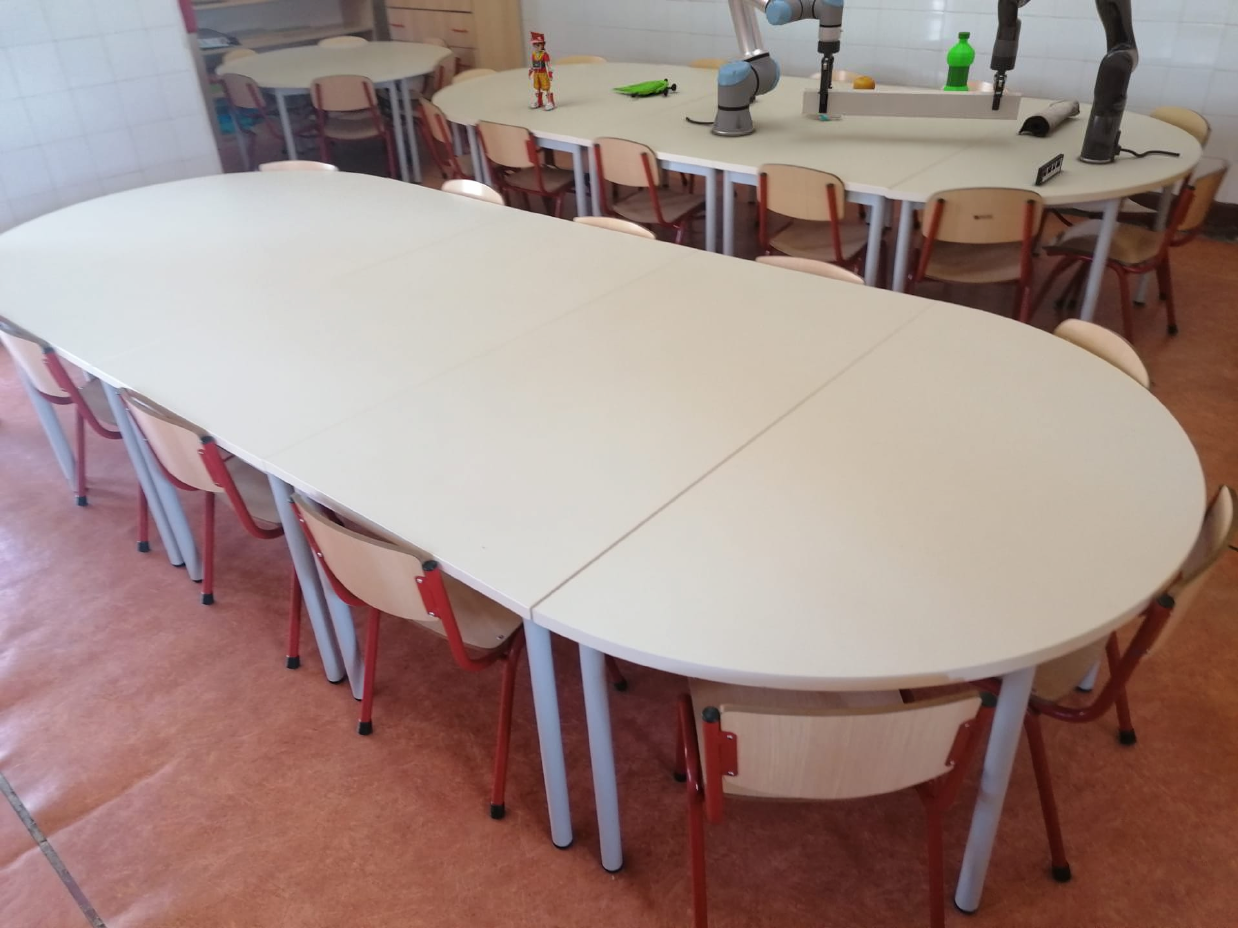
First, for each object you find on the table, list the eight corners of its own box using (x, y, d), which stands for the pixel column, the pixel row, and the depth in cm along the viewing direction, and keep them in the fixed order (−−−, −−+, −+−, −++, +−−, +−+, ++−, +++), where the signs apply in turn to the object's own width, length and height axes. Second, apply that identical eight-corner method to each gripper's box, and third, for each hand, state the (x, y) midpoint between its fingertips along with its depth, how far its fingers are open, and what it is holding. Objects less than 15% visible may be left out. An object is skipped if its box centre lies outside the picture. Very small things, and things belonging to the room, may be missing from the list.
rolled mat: (1047, 105, 331) (1071, 88, 323) (1061, 126, 332) (1085, 109, 324) (1014, 127, 314) (1039, 109, 306) (1028, 149, 314) (1054, 132, 306)
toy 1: (525, 109, 381) (517, 32, 364) (534, 104, 388) (527, 28, 371) (550, 110, 377) (543, 32, 360) (559, 105, 384) (553, 28, 367)
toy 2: (686, 85, 398) (631, 84, 414) (685, 72, 395) (629, 72, 411) (651, 104, 381) (596, 103, 397) (650, 92, 378) (594, 91, 394)
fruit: (848, 88, 368) (860, 70, 365) (850, 91, 375) (862, 74, 372) (865, 99, 366) (877, 81, 363) (867, 102, 374) (879, 85, 371)
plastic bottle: (973, 101, 354) (984, 32, 339) (955, 106, 349) (966, 36, 335) (952, 97, 361) (962, 29, 346) (934, 102, 356) (944, 33, 342)
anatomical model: (804, 89, 349) (829, 82, 348) (807, 116, 355) (832, 109, 354) (814, 99, 336) (840, 91, 335) (817, 126, 342) (843, 119, 341)
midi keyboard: (1039, 185, 269) (1043, 168, 266) (1035, 184, 270) (1038, 168, 267) (1060, 170, 279) (1064, 154, 277) (1056, 169, 280) (1060, 153, 277)
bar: (802, 114, 320) (803, 91, 315) (804, 111, 323) (805, 88, 319) (1016, 120, 299) (1021, 95, 295) (1016, 116, 303) (1021, 92, 298)
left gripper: (837, 45, 298) (831, 118, 311) (843, 35, 311) (837, 105, 325) (814, 45, 300) (809, 117, 313) (821, 35, 314) (816, 104, 327)
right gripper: (1017, 58, 285) (1007, 114, 295) (1016, 49, 296) (1006, 103, 306) (992, 58, 287) (982, 113, 297) (992, 49, 298) (983, 103, 308)
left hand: (823, 111), depth 319 cm, fingers closed on bar, 5 cm apart
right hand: (994, 108), depth 301 cm, fingers closed on bar, 4 cm apart
